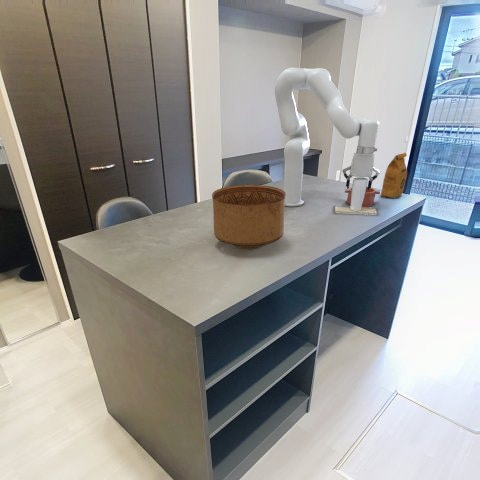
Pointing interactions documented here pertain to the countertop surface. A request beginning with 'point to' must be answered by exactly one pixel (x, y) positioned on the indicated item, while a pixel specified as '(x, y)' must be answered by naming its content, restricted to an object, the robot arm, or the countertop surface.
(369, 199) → the cooking pot
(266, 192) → the pot
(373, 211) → the tea towel
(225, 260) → the countertop surface
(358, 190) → the drinking glass
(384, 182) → the coffee package
